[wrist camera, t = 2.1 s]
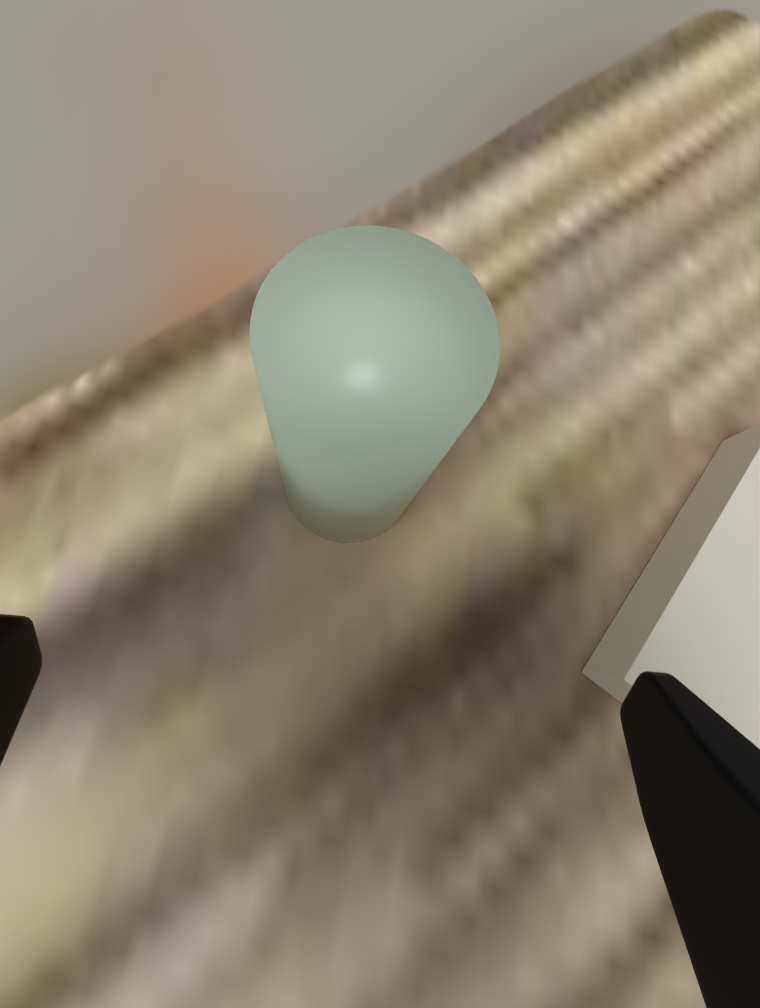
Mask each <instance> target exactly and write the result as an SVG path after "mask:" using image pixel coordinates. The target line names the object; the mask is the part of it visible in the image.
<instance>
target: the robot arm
mask: <svg viewBox="0 0 760 1008" xmlns="http://www.w3.org/2000/svg"><path fill="white" fill-rule="evenodd" d="M41 667H42V654H41V650H40V647H39V643H38V639H37V636H36V632H35V628H34V625H33V622H32V621H31V620H30V619H29V618H28V617H25V616H16V615H5V614H0V765H1V763H2V761H3V759H4V756H5V754H6V752H7V749H8V747H9V745H10V742H11V740H12V737H13V735H14V733H15V730H16V728H17V726H18V723H19V721H20V719H21V716H22V714H23V712H24V709H25V707H26V704H27V702H28V700H29V697H30V695H31V693H32V690H33V688H34V686H35V683H36V681H37V679H38V676H39V674H40V671H41ZM620 715H621V723H622V727H623V732H624V736H625V740H626V745H627V749H628V754H629V758H630V762H631V767H632V771H633V775H634V780H635V784H636V788H637V793H638V797H639V801H640V805H641V809H642V813H643V817H644V821H645V824H646V827H647V830H648V833H649V837H650V840H651V843H652V846H653V849H654V852H655V855H656V858H657V861H658V864H659V867H660V870H661V873H662V876H663V879H664V882H665V885H666V888H667V891H668V894H669V897H670V900H671V903H672V906H673V909H674V912H675V915H676V918H677V921H678V924H679V927H680V930H681V933H682V936H683V939H684V942H685V945H686V948H687V951H688V954H689V957H690V960H691V963H692V966H693V969H694V972H695V975H696V978H697V981H698V984H699V987H700V990H701V993H702V996H703V999H704V1002H705V1005H706V1008H760V749H759V748H758V747H757V746H756V745H754V744H753V743H752V742H751V741H750V740H749V739H747V738H746V737H745V736H744V735H743V734H742V733H740V732H739V731H738V730H737V729H736V728H734V727H733V726H732V725H731V724H730V723H729V722H727V721H726V720H725V719H724V718H723V717H721V716H720V715H719V714H718V713H717V712H716V711H714V710H713V709H712V708H711V707H710V706H708V705H707V704H706V703H705V702H704V701H703V700H701V699H700V698H699V697H698V696H697V695H696V694H694V693H693V692H692V691H691V690H690V689H688V688H687V687H686V686H685V685H684V684H683V683H681V682H680V681H679V680H678V679H677V678H675V677H674V676H673V675H671V674H668V673H663V672H651V671H644V672H642V673H641V674H639V676H638V677H637V679H636V680H635V682H634V684H633V686H632V687H631V689H630V691H629V693H628V694H627V696H626V698H625V699H624V701H623V703H622V706H621V712H620Z"/></svg>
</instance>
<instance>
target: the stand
mask: <svg viewBox="0 0 760 1008" xmlns="http://www.w3.org/2000/svg"><path fill="white" fill-rule="evenodd" d="M644 671H651V672H663V673H668V674H671V675H673V676H674V677H675V678H677V679H678V680H679V681H680V682H681V683H683V684H684V685H685V686H686V687H687V688H688V689H690V690H691V691H692V692H693V693H694V694H696V695H697V696H698V697H699V698H700V699H701V700H703V701H704V702H705V703H706V704H707V705H708V706H710V707H711V708H712V709H713V710H714V711H716V712H717V713H718V714H719V715H720V716H721V717H723V718H724V719H725V720H726V721H727V722H729V723H730V724H731V725H732V726H733V727H734V728H736V729H737V730H738V731H739V732H740V733H742V734H743V735H744V736H745V737H746V738H747V739H749V740H750V741H751V742H752V743H753V744H754V745H756V746H757V747H758V748H759V749H760V424H758V425H756V426H754V427H751V428H749V429H747V430H745V431H743V432H741V433H738V434H736V435H734V436H732V437H730V438H728V439H725V440H723V441H722V443H721V444H720V446H719V448H718V449H717V451H716V453H715V454H714V456H713V458H712V459H711V461H710V462H709V464H708V466H707V467H706V469H705V471H704V472H703V474H702V476H701V477H700V479H699V480H698V482H697V484H696V485H695V487H694V489H693V490H692V492H691V494H690V495H689V497H688V498H687V500H686V502H685V503H684V505H683V507H682V508H681V510H680V512H679V513H678V515H677V516H676V518H675V520H674V521H673V523H672V525H671V526H670V528H669V530H668V531H667V533H666V534H665V536H664V538H663V539H662V541H661V543H660V544H659V546H658V548H657V549H656V551H655V552H654V554H653V556H652V557H651V559H650V561H649V562H648V564H647V566H646V567H645V569H644V570H643V572H642V574H641V575H640V577H639V579H638V580H637V582H636V584H635V585H634V587H633V588H632V590H631V592H630V593H629V595H628V597H627V598H626V600H625V602H624V603H623V605H622V606H621V608H620V610H619V611H618V613H617V615H616V616H615V618H614V620H613V621H612V623H611V624H610V626H609V628H608V629H607V631H606V633H605V634H604V636H603V638H602V639H601V641H600V642H599V644H598V646H597V647H596V649H595V651H594V652H593V654H592V656H591V657H590V659H589V660H588V662H587V664H586V665H585V667H584V669H583V670H582V673H583V674H584V675H585V676H587V677H588V678H589V679H591V680H592V681H593V682H595V683H596V684H597V685H598V686H600V687H601V688H602V689H604V690H605V691H606V692H608V693H609V694H610V695H611V696H613V697H614V698H615V699H617V700H618V701H619V702H621V703H623V701H624V699H625V698H626V696H627V694H628V693H629V691H630V689H631V687H632V686H633V684H634V682H635V680H636V679H637V677H638V676H639V674H641V673H642V672H644Z"/></svg>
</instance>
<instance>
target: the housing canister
mask: <svg viewBox="0 0 760 1008" xmlns="http://www.w3.org/2000/svg"><path fill="white" fill-rule="evenodd" d="M250 345H251V353H252V358H253V362H254V366H255V370H256V374H257V378H258V382H259V386H260V391H261V395H262V399H263V403H264V407H265V411H266V415H267V419H268V423H269V428H270V432H271V436H272V440H273V444H274V448H275V452H276V456H277V460H278V464H279V469H280V473H281V477H282V481H283V485H284V489H285V493H286V497H287V500H288V503H289V505H290V507H291V509H292V511H293V512H294V514H295V515H296V517H297V518H298V519H299V520H300V522H301V523H303V524H304V525H305V526H306V527H307V528H308V529H310V530H311V531H312V532H314V533H316V534H317V535H319V536H321V537H324V538H326V539H329V540H333V541H337V542H359V541H364V540H368V539H371V538H373V537H376V536H378V535H380V534H381V533H383V532H385V531H386V530H387V529H389V528H390V527H391V526H392V525H393V524H394V523H395V522H396V521H397V520H398V518H399V517H400V516H401V514H402V513H403V512H404V510H405V509H406V508H407V506H408V505H409V504H410V502H411V501H412V500H413V498H414V497H415V495H416V494H417V493H418V491H419V490H420V489H421V487H422V486H423V485H424V483H425V482H426V481H427V479H428V478H429V477H430V475H431V474H432V473H433V471H434V470H435V468H436V467H437V466H438V464H439V463H440V462H441V460H442V459H443V458H444V456H445V455H446V454H447V452H448V451H449V450H450V448H451V447H452V445H453V444H454V443H455V441H456V440H457V439H458V437H459V436H460V435H461V433H462V432H463V431H464V429H465V428H466V427H467V425H468V424H469V423H470V421H471V420H472V418H473V417H474V416H475V414H476V413H477V412H478V410H479V409H480V408H481V406H482V405H483V404H484V402H485V400H486V398H487V397H488V395H489V393H490V391H491V389H492V386H493V384H494V381H495V378H496V375H497V370H498V365H499V360H500V336H499V329H498V324H497V320H496V316H495V313H494V310H493V308H492V305H491V302H490V300H489V299H488V297H487V295H486V293H485V291H484V289H483V288H482V286H481V285H480V283H479V282H478V280H477V279H476V278H475V276H474V275H473V274H472V273H471V272H470V271H469V270H468V268H467V267H466V266H465V265H464V264H463V263H461V262H460V261H459V260H458V259H457V258H456V257H455V256H454V255H452V254H451V253H449V252H448V251H447V250H445V249H444V248H442V247H441V246H439V245H437V244H435V243H433V242H432V241H430V240H428V239H426V238H423V237H421V236H418V235H416V234H414V233H410V232H407V231H403V230H400V229H395V228H389V227H383V226H351V227H346V228H340V229H335V230H332V231H329V232H326V233H322V234H320V235H318V236H315V237H313V238H311V239H309V240H307V241H305V242H303V243H302V244H300V245H299V246H297V247H295V248H294V249H293V250H291V251H290V252H289V253H288V254H287V255H285V256H284V257H283V258H282V259H281V260H280V261H279V262H278V263H277V264H276V265H275V266H274V267H273V269H272V270H271V271H270V273H269V274H268V276H267V277H266V279H265V280H264V282H263V284H262V286H261V288H260V290H259V292H258V294H257V297H256V300H255V303H254V306H253V309H252V315H251V321H250Z"/></svg>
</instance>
